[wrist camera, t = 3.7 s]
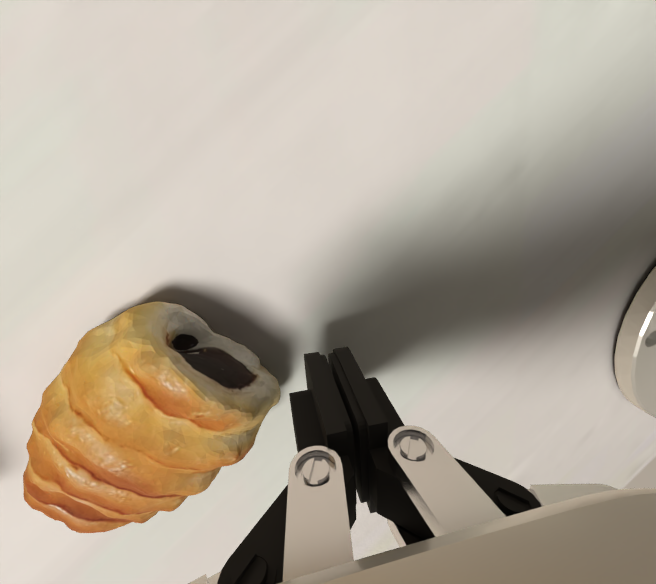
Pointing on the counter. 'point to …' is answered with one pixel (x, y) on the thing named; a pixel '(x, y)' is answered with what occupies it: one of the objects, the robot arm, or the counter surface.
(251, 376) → the pastry
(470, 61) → the counter surface
